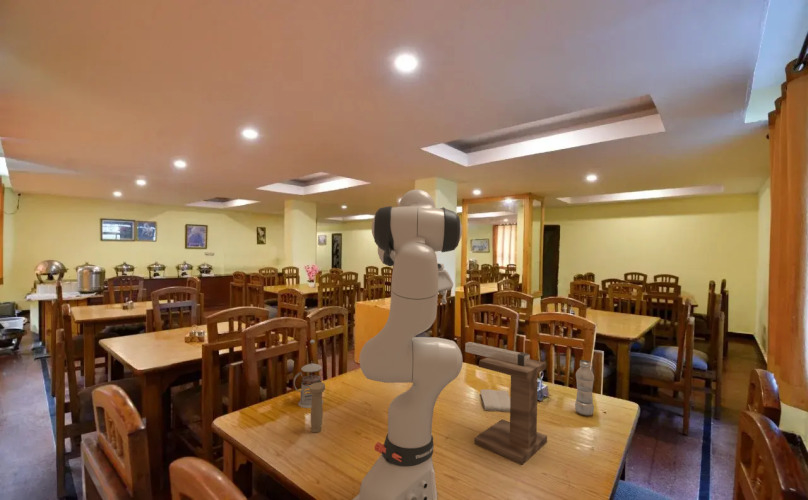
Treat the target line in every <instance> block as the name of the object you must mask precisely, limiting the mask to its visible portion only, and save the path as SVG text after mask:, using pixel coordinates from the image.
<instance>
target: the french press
mask: <svg viewBox="0 0 808 500" xmlns="http://www.w3.org/2000/svg"><path fill="white" fill-rule="evenodd" d="M309 343H310V344H315V343H316V342H315V340H314V339H311V340H310V341H309ZM300 369H301V371H300V372H298V373H296V374H295V376H294V378H293V386H294V389H295V391H297V392H299V393H300V401H298V403H297V405H298V406H299V407H301V408H304V409H311V405H312V393H310V391H309V387H310V385H312V384H314V383H318V382H320V383H322V380H321V376H319V375H316V374H315V375H314V374H313V373H315V372H316V373H317V372H321V370H322V369H323V367H322V366H321V365H320V364H318V363H313V362H311V363H308V364H305V365H303V366H302V367H301V368H300ZM302 372H304V373H310V375H305V376H303V373H302ZM299 376H301V379H302V381H301V386H300V389H299V388H297V387H296V384H295V383H296V379H297V378H298V377H299ZM323 404H324V400H323V399H322V405H323Z"/></svg>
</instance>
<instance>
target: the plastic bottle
mask: <svg viewBox="0 0 808 500" xmlns="http://www.w3.org/2000/svg"><path fill="white" fill-rule="evenodd" d="M575 379H576V400H575V403H574V406H575V408H574V409H575V411H576V412H577V413H578V414H580V415H582V416H592V415H593V414H594V410H595V408H594V407H595V406H594V401H593V386H594V381H595V375H594V372H593V371H592V370H591V361H589V360H586V359H581V360H579V368H578V369H577V370H576V372H575Z"/></svg>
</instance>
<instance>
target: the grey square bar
mask: <svg viewBox="0 0 808 500" xmlns="http://www.w3.org/2000/svg"><path fill="white" fill-rule="evenodd" d="M464 346H465V349H464V352H465V353H469V354H472V355H478V356H481V357H485V358H487V357H489V358H493V359H497V360H501V361H505V362H509V363H514V364H518V365H521V366H527V365H529V364H530V359H531V358H530V357H531V356H530V355H531V354H529V353H527V352H518V351H514V350H510V349H504V348H501V347H495V346H492V345H486V344H481V343H477V342H472V341H468V342H466V343H465V345H464Z"/></svg>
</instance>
